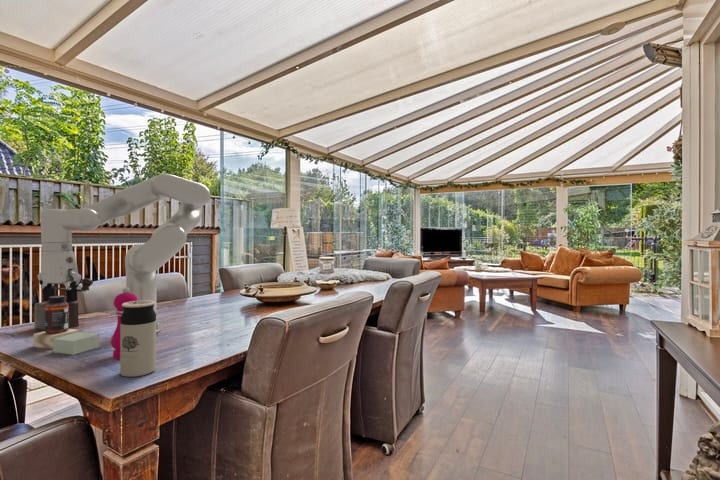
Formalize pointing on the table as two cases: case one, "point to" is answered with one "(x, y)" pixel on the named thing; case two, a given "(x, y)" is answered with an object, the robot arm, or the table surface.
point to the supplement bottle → (56, 315)
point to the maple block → (49, 338)
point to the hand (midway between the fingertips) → (60, 301)
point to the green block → (75, 343)
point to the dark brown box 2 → (73, 306)
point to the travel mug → (137, 338)
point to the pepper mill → (118, 304)
